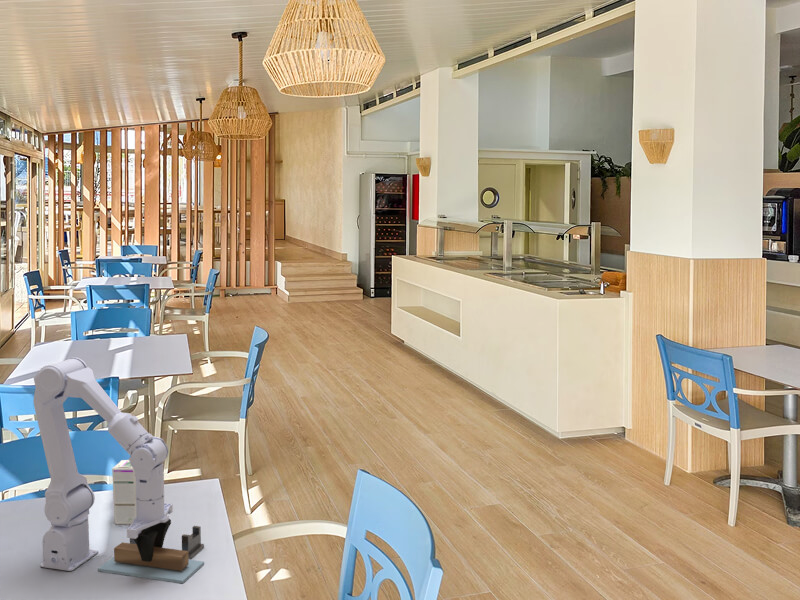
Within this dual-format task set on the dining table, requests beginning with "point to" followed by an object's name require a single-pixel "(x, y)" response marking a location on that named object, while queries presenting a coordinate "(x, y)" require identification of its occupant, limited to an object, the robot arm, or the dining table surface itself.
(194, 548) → the bracket
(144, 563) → the rail
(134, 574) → the mat
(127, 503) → the syrup box
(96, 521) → the dining table surface
